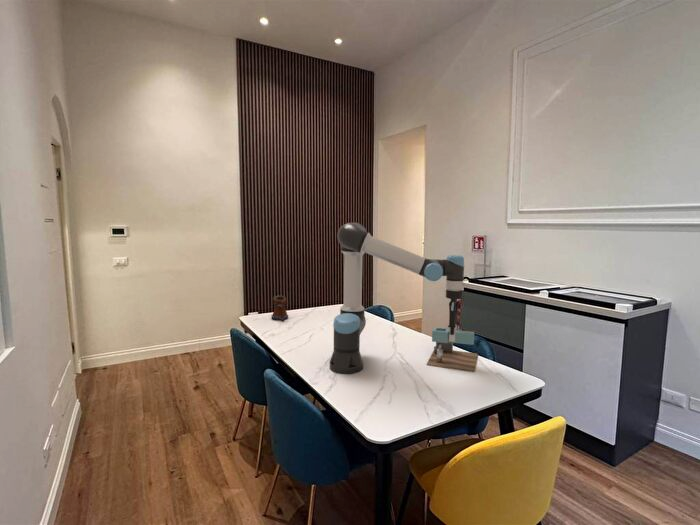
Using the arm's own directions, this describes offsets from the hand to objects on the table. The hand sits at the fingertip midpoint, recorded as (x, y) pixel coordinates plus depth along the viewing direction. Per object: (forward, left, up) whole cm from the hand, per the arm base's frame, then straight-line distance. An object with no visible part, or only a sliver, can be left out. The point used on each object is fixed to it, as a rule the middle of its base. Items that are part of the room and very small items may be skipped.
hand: (452, 339), depth 175 cm
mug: (+38, +115, -12) cm, 121 cm away
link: (0, 0, -1) cm, 1 cm away
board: (+7, 0, -12) cm, 14 cm away
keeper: (+14, +6, -11) cm, 19 cm away
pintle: (0, +6, -12) cm, 13 cm away
